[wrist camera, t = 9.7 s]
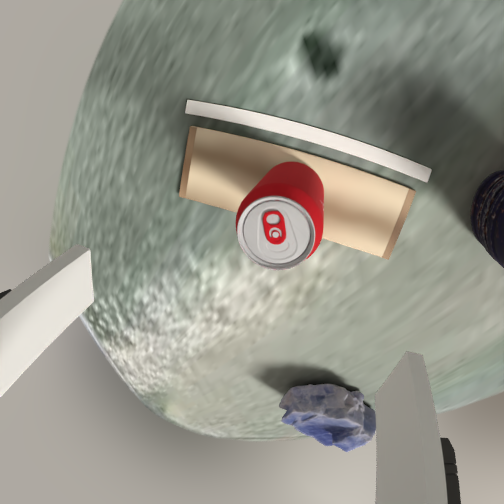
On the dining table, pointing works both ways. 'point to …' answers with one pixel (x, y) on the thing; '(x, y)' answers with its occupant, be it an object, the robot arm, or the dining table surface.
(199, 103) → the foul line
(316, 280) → the dining table surface
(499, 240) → the dark blue cylinder
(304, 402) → the mineral
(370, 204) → the board
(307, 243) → the beverage can
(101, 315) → the dining table surface
